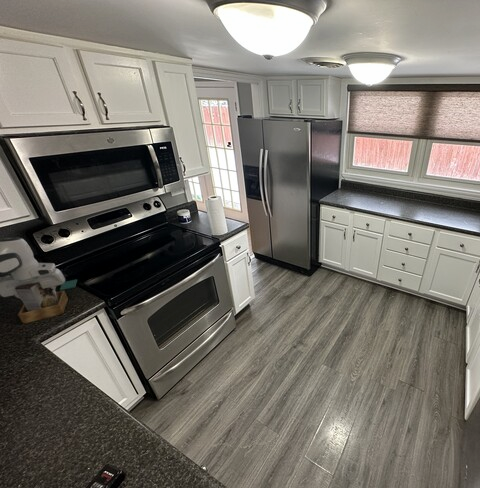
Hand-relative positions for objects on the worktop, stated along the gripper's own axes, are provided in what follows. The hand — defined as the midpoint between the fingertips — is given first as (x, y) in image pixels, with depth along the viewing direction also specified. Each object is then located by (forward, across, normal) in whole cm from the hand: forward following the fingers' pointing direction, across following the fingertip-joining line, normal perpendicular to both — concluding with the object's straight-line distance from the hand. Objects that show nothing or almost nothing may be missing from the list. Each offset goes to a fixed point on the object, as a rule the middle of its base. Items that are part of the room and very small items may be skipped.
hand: (40, 297), depth 120 cm
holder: (+8, 0, 0) cm, 8 cm away
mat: (+8, +5, +21) cm, 23 cm away
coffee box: (+8, 0, 0) cm, 8 cm away
